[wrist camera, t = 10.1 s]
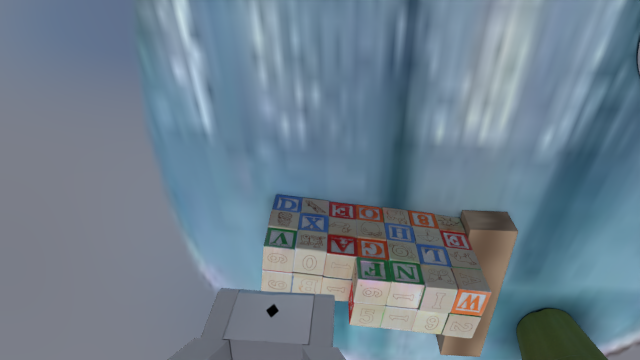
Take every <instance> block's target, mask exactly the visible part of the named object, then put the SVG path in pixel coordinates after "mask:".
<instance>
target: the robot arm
mask: <svg viewBox="0 0 640 360" xmlns="http://www.w3.org/2000/svg"><path fill="white" fill-rule="evenodd" d="M638 67H639V73H640V44H639V50H638ZM334 306H335V295H330V294H310V293H290V292H269V291H257V290H245V289H229V288H221V289H220V290H219V292H218V293H217V296H216V299H215V301H214V304H213V307H212V309H211V312H210V315H209V317H208V320H207V322H206V325H205V328H204V330H203V333H202V335H201V338H194V339H193V340H192V341H190V342H189V343H188V344H187V345H185V346H184V347H183V348H182V349H180V350H179V351H178V352H177V353H175V354H174V355H173V356H172V357H170V358H169V359H168V360H346V359H345V358H344V356H343V355H342V353H341V352H340V350H339V349H338V348H337V347H333V333H334Z"/></svg>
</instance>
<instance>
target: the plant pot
mask: <svg viewBox="0 0 640 360" xmlns="http://www.w3.org/2000/svg"><path fill="white" fill-rule="evenodd" d="M517 338H518V342H519V347H520V351H521V356H522V360H608V359H607V358H606V357H605V356H604V355H603V353H602V352H601V351H600V350H599V349H598V348H597V347H596V345H595V344H594V343H593V342H592V341H591V340H590V338H589V337H588V336H587V335H586V334H585V332H584V331H583V330H582V329H581V328H580V327H579V325H578V324H577V323H576V322H575V321H574V320H573V319H572V317H571V316H570V315H569V314H567V313H566V312H564V311H561V310H558V309H544V310H542V311H540V312H534V313H530V314H528V315H527V316H525V317H524V318H523V319H522V320H521V321H520V322H519V324H518V326H517Z"/></svg>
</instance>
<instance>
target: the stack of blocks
mask: <svg viewBox="0 0 640 360" xmlns="http://www.w3.org/2000/svg"><path fill="white" fill-rule="evenodd" d="M262 269H263V271H262V285H261V291H269V292H290V293H310V294H330V295H335V300H336V301H348V300H349V324H350V325H356V326H365V327H375V328H380V327H381V328H386V329H396V330H406V331H409V330H411V331H413V332H423V333H431V334H442V335H445V336H453V337H462V338H472V337H473V334H474V332H475V330H476V328H477V326H478V323H479V321H480V319H481V315H482V314H483V312H484V310H485V307H486V305H487V303H488V300H489V298H490V295H491V290H490V288H489V286H488V284H487V281H486V279H485V277H484V275H483V273H482V268H481V266H480V265H479V262H478V260H477V257H476V255H475V253H474V251H473V249H472V247H471V244H470V242H469V240H468V238H467V236H466V234H465V230H464V227H463V225H462V223H461V221H460V219H459V218H457V217H449V216H442V215H435V214H432V213H424V212H416V211H407V210H402V209H394V208H386V207H382V208H379V207H370V206H363V205H352V204H344V203H336V202H329V201H326V200H317V199H310V198H301V197H293V196H285V195H276V197H275V201H274V205H273V208H272V211H271V215H270V219H269V224H268V229H267V233H266V238H265V242H264V250H263V264H262Z"/></svg>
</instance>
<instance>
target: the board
mask: <svg viewBox="0 0 640 360" xmlns="http://www.w3.org/2000/svg"><path fill="white" fill-rule="evenodd" d="M460 221H461V223H462V225H463V227H464V230H465V234H466V236H467V238H468V240H469V242H470V244H471V247H472V249H473V251H474V253H475V255H476V257H477V260H478V262H479V265H480V266H481V268H482V273H483V275H484V277H485V279H486V281H487V284H488V286H489V288H490V290H491V295H490V298H489V300H488V303H487V305H486V307H485V310H484V312H483V314H482V315H481V319H480V321H479V323H478V326H477V328H476V330H475V332H474V334H473V337H472V338H462V337H453V336H445V335H442V334H436V337H437V341H438V345H439V350H440V354H441V355H457V356H475V357H480V354H481V351H482V348H483V345H484V341H485V338H486V335H487V332H488V328H489V325H490V322H491V319H492V315H493V312H494V309H495V306H496V302H497V299H498V296H499V293H500V289H501V286H502V283H503V280H504V276H505V273H506V270H507V267H508V263H509V260H510V257H511V254H512V250H513V247H514V244H515V241H516V237H517V234H518V230H517V228H516V227H515V225H514V223H513V222H512V220H511V218H510V216H509V215H508V213H507V212H494V211H469V210H462V214H461V218H460Z"/></svg>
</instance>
